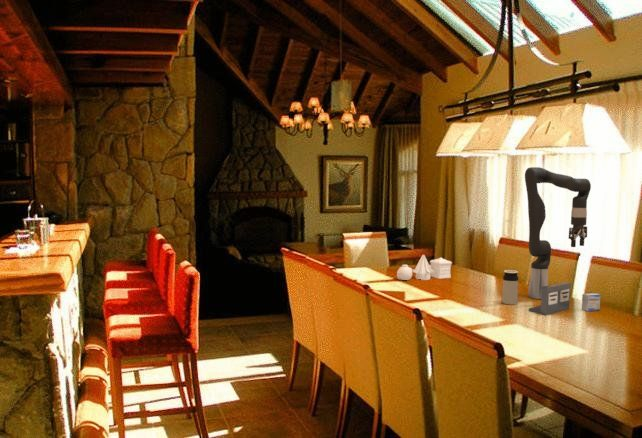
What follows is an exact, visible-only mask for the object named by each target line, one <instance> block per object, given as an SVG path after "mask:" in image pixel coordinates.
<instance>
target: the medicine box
mask: <svg viewBox="0 0 642 438" xmlns="http://www.w3.org/2000/svg"><path fill="white" fill-rule="evenodd" d="M581 296H582V299H581V310H582V311H585V312H595V311H597V310H599V311H600V309H601V308H600V307H601V294H599V293H595V292H594V293H593V292H592V293H582V295H581Z"/></svg>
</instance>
